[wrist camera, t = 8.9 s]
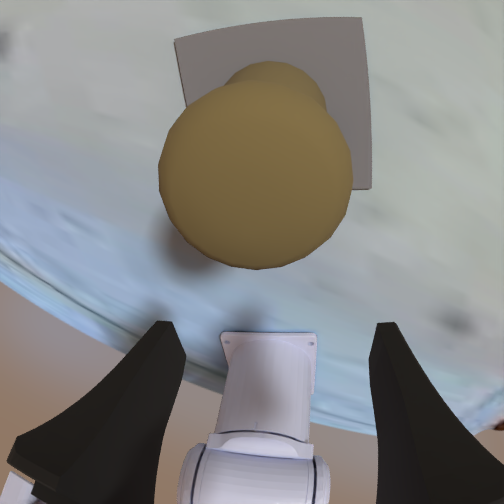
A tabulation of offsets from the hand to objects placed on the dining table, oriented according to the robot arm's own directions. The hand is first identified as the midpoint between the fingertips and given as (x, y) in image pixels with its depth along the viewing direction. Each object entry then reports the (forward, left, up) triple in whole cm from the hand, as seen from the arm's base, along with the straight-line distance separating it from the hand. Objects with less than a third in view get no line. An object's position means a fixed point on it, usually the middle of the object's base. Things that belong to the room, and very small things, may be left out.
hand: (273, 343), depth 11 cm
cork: (+6, 0, -10) cm, 12 cm away
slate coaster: (+6, 0, -11) cm, 13 cm away
